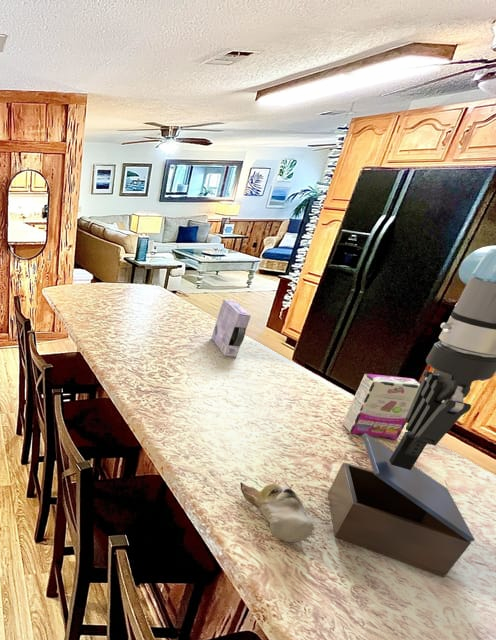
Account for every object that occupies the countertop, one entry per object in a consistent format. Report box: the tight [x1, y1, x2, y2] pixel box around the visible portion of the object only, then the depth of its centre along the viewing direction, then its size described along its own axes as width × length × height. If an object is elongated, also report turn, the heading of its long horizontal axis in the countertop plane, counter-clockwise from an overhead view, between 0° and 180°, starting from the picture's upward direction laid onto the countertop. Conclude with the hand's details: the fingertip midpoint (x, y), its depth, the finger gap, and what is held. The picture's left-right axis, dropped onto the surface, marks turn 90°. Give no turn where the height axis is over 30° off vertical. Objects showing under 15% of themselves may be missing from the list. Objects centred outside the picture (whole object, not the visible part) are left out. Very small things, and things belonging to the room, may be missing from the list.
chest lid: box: [361, 433, 476, 543], centre depth 71 cm, size 16×14×1 cm
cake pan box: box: [210, 298, 251, 358], centre depth 151 cm, size 19×5×18 cm, turn 171°
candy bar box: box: [342, 373, 421, 440], centre depth 103 cm, size 11×5×16 cm, turn 76°
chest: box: [327, 461, 472, 578], centre depth 75 cm, size 16×14×9 cm
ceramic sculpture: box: [239, 481, 315, 543], centre depth 77 cm, size 11×9×15 cm
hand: (399, 464), depth 71 cm, fingers closed
